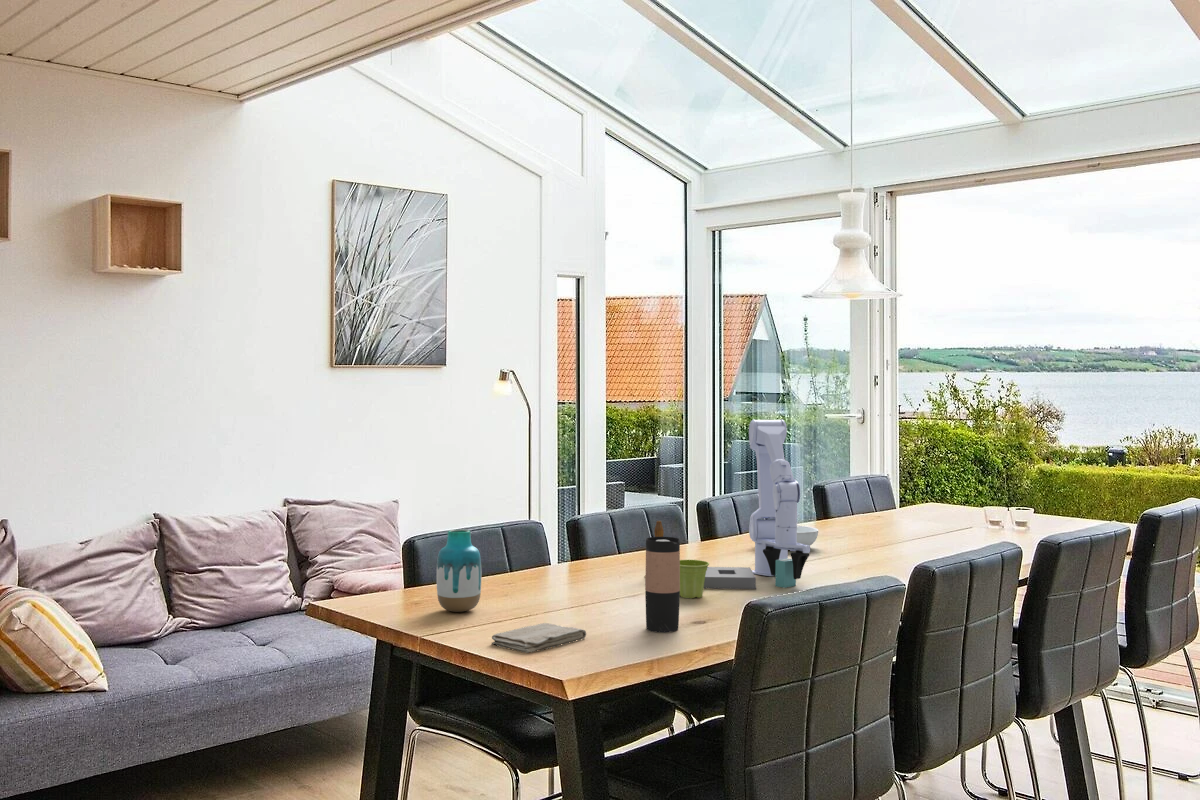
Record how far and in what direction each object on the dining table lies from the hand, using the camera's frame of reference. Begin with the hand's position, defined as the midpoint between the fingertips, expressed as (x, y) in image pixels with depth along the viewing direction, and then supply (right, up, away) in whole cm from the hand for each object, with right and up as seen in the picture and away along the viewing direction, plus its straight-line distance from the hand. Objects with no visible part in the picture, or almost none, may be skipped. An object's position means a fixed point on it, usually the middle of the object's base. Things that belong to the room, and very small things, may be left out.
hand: (785, 576), depth 294 cm
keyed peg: (0, -3, 0) cm, 2 cm away
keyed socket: (-15, -2, +4) cm, 16 cm away
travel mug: (-36, -3, -52) cm, 64 cm away
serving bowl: (+11, -2, +66) cm, 67 cm away
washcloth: (-63, -4, -64) cm, 90 cm away
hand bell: (-33, -2, +11) cm, 35 cm away
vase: (-84, -3, -35) cm, 91 cm away
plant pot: (-27, -3, -15) cm, 31 cm away
